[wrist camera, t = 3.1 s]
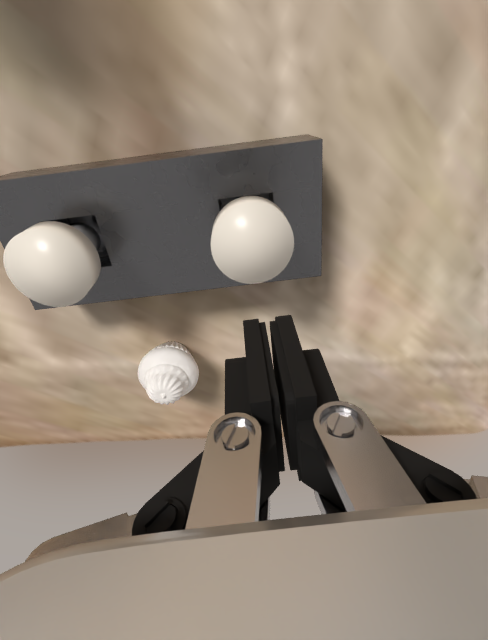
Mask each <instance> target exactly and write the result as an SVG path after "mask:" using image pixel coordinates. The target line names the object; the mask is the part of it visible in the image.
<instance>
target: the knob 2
mask: <svg viewBox="0 0 488 640" xmlns="http://www.w3.org/2000/svg"><path fill="white" fill-rule="evenodd" d="M293 249H294V235H293V231H292V228H291V226H290V224H289V222H288V220H287V219H286V217H285V215H284V213H283V212H282V210H281V209H280V208H279V207H278V206H277V205H276V204H275V203H273V202H272V201H270V200H268V199H266V198H263V197H259V196H244V197H240V198H237V199H235V200H233V201H231V202H229V203H228V204H227V205H225V206H224V207H223V208H222V209H221V211H220V212H219V213H218V215H217V217H216V219H215V221H214V224H213V228H212V235H211V252H212V256H213V259H214V261H215V263H216V265H217V267H218V268H219V269H220V270H221V271H222V272H223V273H224V274H225V275H226V276H227V277H229V278H231V279H232V280H235V281H237V282H240V283H245V284H257V283H262V282H265V281H268V280H270V279H272V278H274V277H276V276H277V275H278V274H280V273H281V272H282V271H283V270H284V268H285V267H286V266H287V264H288V263H289V261H290V259H291V257H292V253H293Z"/></svg>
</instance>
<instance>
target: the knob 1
mask: <svg viewBox="0 0 488 640" xmlns="http://www.w3.org/2000/svg"><path fill="white" fill-rule="evenodd" d="M100 244H101V241H100V237H99V235H98V233H97V232H96V231H95V229H93V228H92V227H91V226H89V225H87V224H84V223H75V224H73V225H71V226H70V225H68V224H65V223H62V222H57V221H45V222H40V223H37V224H35V225H33V226H31V227H30V228H28V229H26V230H24V231H23V232H21V233H19V234H18V235H16V236H14V237H13V238H12V239H11V240H10V241H9V242H8V244H7V246H6V248H5V250H4V256H3V261H4V267H5V270H6V273H7V275H8V277H9V279H10V280H11V282H12V283H13V284H14V286H15V287H16V288H17V289H18V290H19V291H20V292H21V293H23V294H24V295H25V296H27V297H28V298H30V299H32V300H33V301H36V302H38V303H40V304H43V305H47V306H52V307H65V306H70V305H73V304H75V303H77V302H79V301H80V300H82V299H83V298H84V297H85V295H86V294H87V293H88V291H89V290H90V289H91V288H92V286H93V285H94V284H95V282H96V281H97V279H98V277H99V275H100V270H101V262H100V257H99V254H98V252H97V251H98V250H99V248H100Z"/></svg>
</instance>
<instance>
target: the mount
mask: <svg viewBox="0 0 488 640" xmlns="http://www.w3.org/2000/svg"><path fill="white" fill-rule="evenodd" d="M244 196H259V197H263V198H266V199H268V200H270V201H272V202H273V203H275V204H276V205H277V206H278V207H279V208H280V209H281V210H282V212H283V213H284V215H285V217H286V219H287V220H288V222H289V224H290V226H291V228H292V231H293V235H294V249H293V253H292V257H291V259H290V261H289V263H288V264H287V266H286V267H285V268H284V270H283V271H282V272H281V273H280V274H278V275H277V276H276V277H274V278H272V279H270V280H268V281H265V282H273V281H281V280H290V279H298V278H306V277H315V276H321V250H322V139H321V138H318V137H314V136H311V135H300V136H292V137H284V138H276V139H269V140H261V141H253V142H246V143H238V144H230V145H222V146H215V147H207V148H199V149H192V150H184V151H176V152H168V153H161V154H153V155H145V156H138V157H130V158H122V159H114V160H107V161H99V162H91V163H84V164H76V165H68V166H60V167H53V168H45V169H37V170H30V171H22V172H14V173H9V174H6V175H2V176H0V241H1V243H2V245H3V247H4V249H5V248H6V246H7V244H8V242H9V241H10V240H11V239H12V238H13V237H14V236H16V235H18V234H19V233H21V232H23V231H24V230H26V229H28V228H30V227H31V226H33V225H35V224H37V223H40V222H45V221H57V222H62V223H65V224H68V225H70V226H71V225H73V224H75V223H84V224H87V225H89V226H91V227H92V228H93V229H95V231H96V232H97V233H98V235H99V237H100V241H101V244H100V248H99V250H98V251H97V252H98V254H99V257H100V262H101V270H100V275H99V277H98V279H97V281H96V282H95V284H94V285H93V286H92V288H91V289H90V290H89V291H88V293H87V294H86V295H85V297H84V298H83V299H82V300H80V301H79V302H77V303H75V304H73V305H81V304H89V303H98V302H106V301H114V300H123V299H131V298H139V297H148V296H156V295H164V294H173V293H181V292H189V291H198V290H206V289H214V288H223V287H231V286H239V285H248V284H245V283H240V282H237V281H235V280H232V279H231V278H229V277H227V276H226V275H225V274H224V273H223V272H222V271H221V270H220V269H219V268H218V267H217V265H216V263H215V261H214V259H213V256H212V252H211V235H212V228H213V224H214V221H215V219H216V217H217V215H218V213H219V212H220V211H221V209H222V208H223V207H224V206H225V205H227V204H228V203H229V202H231V201H233V200H235V199H237V198H240V197H244ZM265 282H262V283H265ZM29 299H30V298H29ZM30 301H31V303H32V305H33V307H34V309H35V310H39V309H47V308H56V307H52V306H47V305H43V304H40V303H38V302H36V301H33V300H32V299H30ZM70 306H72V305H70Z"/></svg>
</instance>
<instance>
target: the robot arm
mask: <svg viewBox="0 0 488 640" xmlns="http://www.w3.org/2000/svg"><path fill="white" fill-rule="evenodd" d="M243 326H244V338H245V351H246V357H243V358H234V359H226V360H225V415H224V416H222V417H220V418H219V419H217V420H216V421H215V422H214V423H213V424H212V425H211V427H210V430H209V432H208V436H207V440H206V444H205V448H204V451H203V452H202V453H201V454H199V455H198V456H197V457H196V458H195V459H194V460H193V461H192V462H191V463H189V464H188V465H187V466H186V467H185V468H184V469H183V470H182V471H181V472H180V473H179V474H177V475H176V476H175V477H174V478H173V479H172V480H171V481H170V482H169V483H168V484H166V485H165V486H164V487H163V488H162V489H161V490H160V491H159V492H158V493H157V494H156V495H154V496H153V497H152V498H151V499H150V500H149V501H148V502H147V503H146V504H145V505H144V506H143V507H142V508H141V509H140V510H139V512H138V513H137V514H134V515H131V516H128V514H127V513H124V514H121V515H118V516H115V517H112V518H110V519H106V520H104V521H100V522H97V523H94V524H92V525H89V526H86V527H83V528H80V529H77V530H74V531H71V532H68V533H65V534H62V535H59V536H56V537H53V538H51V539H49V540H47V541H45V542H43V543H42V544H40V545H39V546H38V547H37V548H36V549H35V550H34V551H32V553H31V554H30V555H29V557H28V558H27V560H26V561H25V562H24V563H22V564H20V565H17V566H15V567H14V568H12V569H10V570H8V571H6V572H4V573H2V574H0V640H488V477H483V476H473V475H472V476H471V479H463V478H462V477H460V476H459V475H458V474H456V473H454V472H453V471H451V470H449V469H447V468H445V467H443V466H441V465H439V464H437V463H435V462H433V461H431V460H429V459H427V458H425V457H423V456H421V455H419V454H417V453H415V452H413V451H411V450H409V449H407V448H405V447H403V446H401V445H399V444H397V443H395V442H393V441H391V440H389V439H387V438H385V437H383V436H381V435H380V434H379V433H378V431H377V430H376V428H375V427H374V425H373V424H372V422H371V421H370V419H369V418H368V416H367V415H366V414H365V413H364V412H363V411H362V409H360V408H359V407H357V406H355V405H353V404H351V403H348V402H342V401H339V399H338V396H337V393H336V391H335V388H334V386H333V383H332V381H331V378H330V376H329V373H328V371H327V368H326V365H325V363H324V360H323V358H322V355H321V353H320V351H319V349H311V350H303V351H302V348H301V345H300V341H299V338H298V335H297V332H296V329H295V326H294V323H293V319H292V316H291V315H286V316H278V317H275V321H270V331H271V343H272V354H273V364H272V358H271V353H270V347H269V342H268V336H267V331H266V326H265V322H262V323H259V320H258V319H253V320H244V321H243ZM273 366H274V369H273ZM280 415H281V417H280ZM281 420H282V426H283V432H284V437H285V443H286V448H287V454H288V459H289V465H290V470H297V472H298V477H299V481H302V482H303V483H305V484H306V485H308V486H309V487H311V488H312V489H314V493H315V498H316V501H317V503H318V506H319V508H320V511H321V513H322V515H314V516H304V517H295V518H286V519H276V520H270V519H269V518H270V495H271V494H272V493H273V492H274V491H275V489H276V488H277V487H278V486H279V485H280V479H279V472H280V471H285V467H284V455H283V443H282V430H281Z"/></svg>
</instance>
